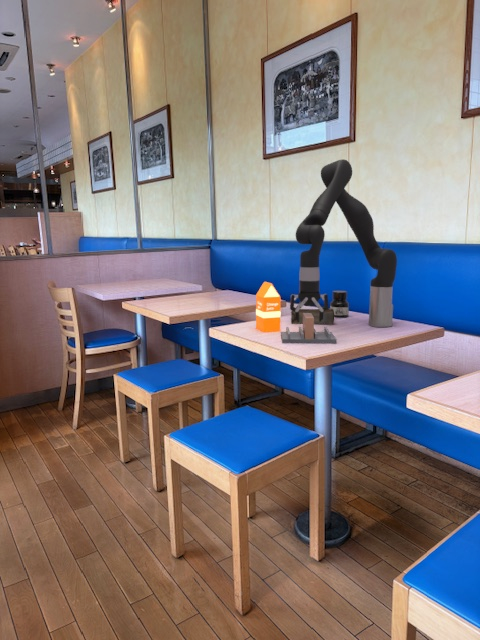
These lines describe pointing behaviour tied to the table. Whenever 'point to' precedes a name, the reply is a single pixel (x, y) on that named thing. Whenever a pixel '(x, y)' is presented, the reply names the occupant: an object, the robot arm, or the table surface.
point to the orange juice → (268, 309)
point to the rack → (299, 338)
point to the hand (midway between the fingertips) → (308, 321)
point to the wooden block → (308, 326)
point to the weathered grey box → (327, 316)
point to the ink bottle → (340, 304)
